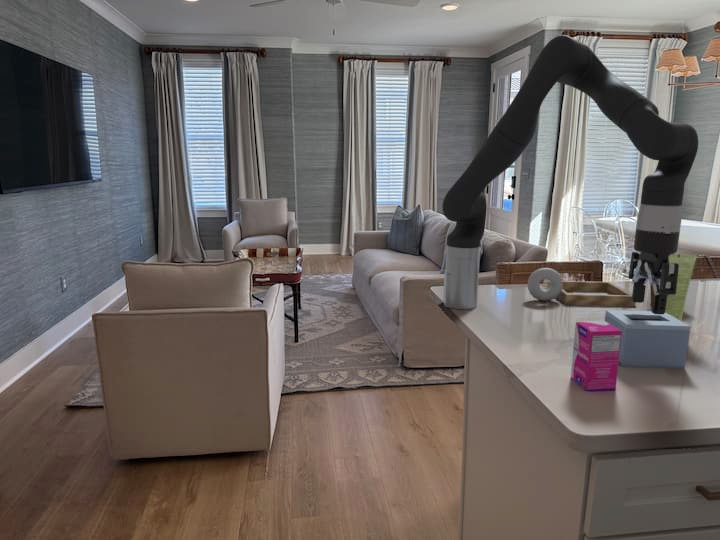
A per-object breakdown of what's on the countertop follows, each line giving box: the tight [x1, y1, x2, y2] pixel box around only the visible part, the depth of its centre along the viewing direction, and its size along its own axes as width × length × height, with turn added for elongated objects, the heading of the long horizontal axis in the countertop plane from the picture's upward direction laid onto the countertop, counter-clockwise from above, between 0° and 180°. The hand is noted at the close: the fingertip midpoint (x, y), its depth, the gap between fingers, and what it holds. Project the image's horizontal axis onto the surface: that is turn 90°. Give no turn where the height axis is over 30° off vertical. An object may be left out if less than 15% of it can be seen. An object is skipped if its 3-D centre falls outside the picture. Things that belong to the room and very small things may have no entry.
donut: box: [527, 267, 564, 302], centre depth 150 cm, size 10×3×10 cm, turn 84°
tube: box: [659, 253, 698, 321], centre depth 120 cm, size 6×5×20 cm
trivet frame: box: [546, 280, 637, 307], centre depth 155 cm, size 19×18×3 cm
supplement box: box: [570, 320, 622, 392], centre depth 92 cm, size 6×6×12 cm
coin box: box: [604, 309, 692, 369], centre depth 105 cm, size 12×10×9 cm
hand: (647, 307), depth 104 cm, fingers open, 8 cm apart
